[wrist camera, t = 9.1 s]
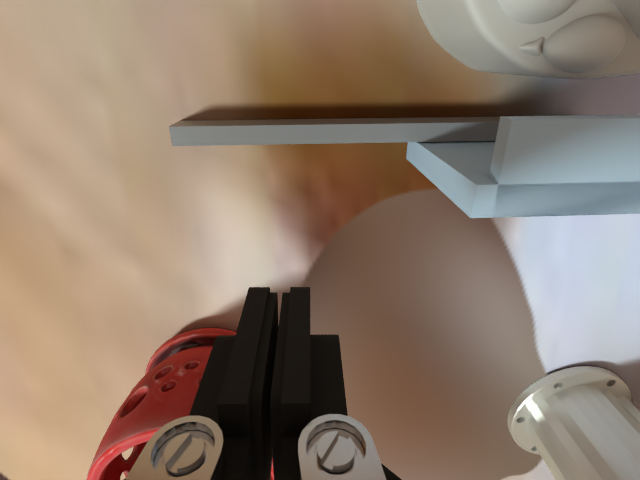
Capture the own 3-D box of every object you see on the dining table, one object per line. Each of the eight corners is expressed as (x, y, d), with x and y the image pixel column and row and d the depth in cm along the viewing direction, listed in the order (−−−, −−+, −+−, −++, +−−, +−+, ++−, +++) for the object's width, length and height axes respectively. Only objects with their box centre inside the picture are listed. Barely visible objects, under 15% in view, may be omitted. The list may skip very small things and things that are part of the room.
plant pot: (248, 430, 40) (230, 568, 29) (126, 385, 36) (53, 524, 25) (315, 347, 35) (323, 474, 25) (184, 286, 32) (126, 404, 21)
